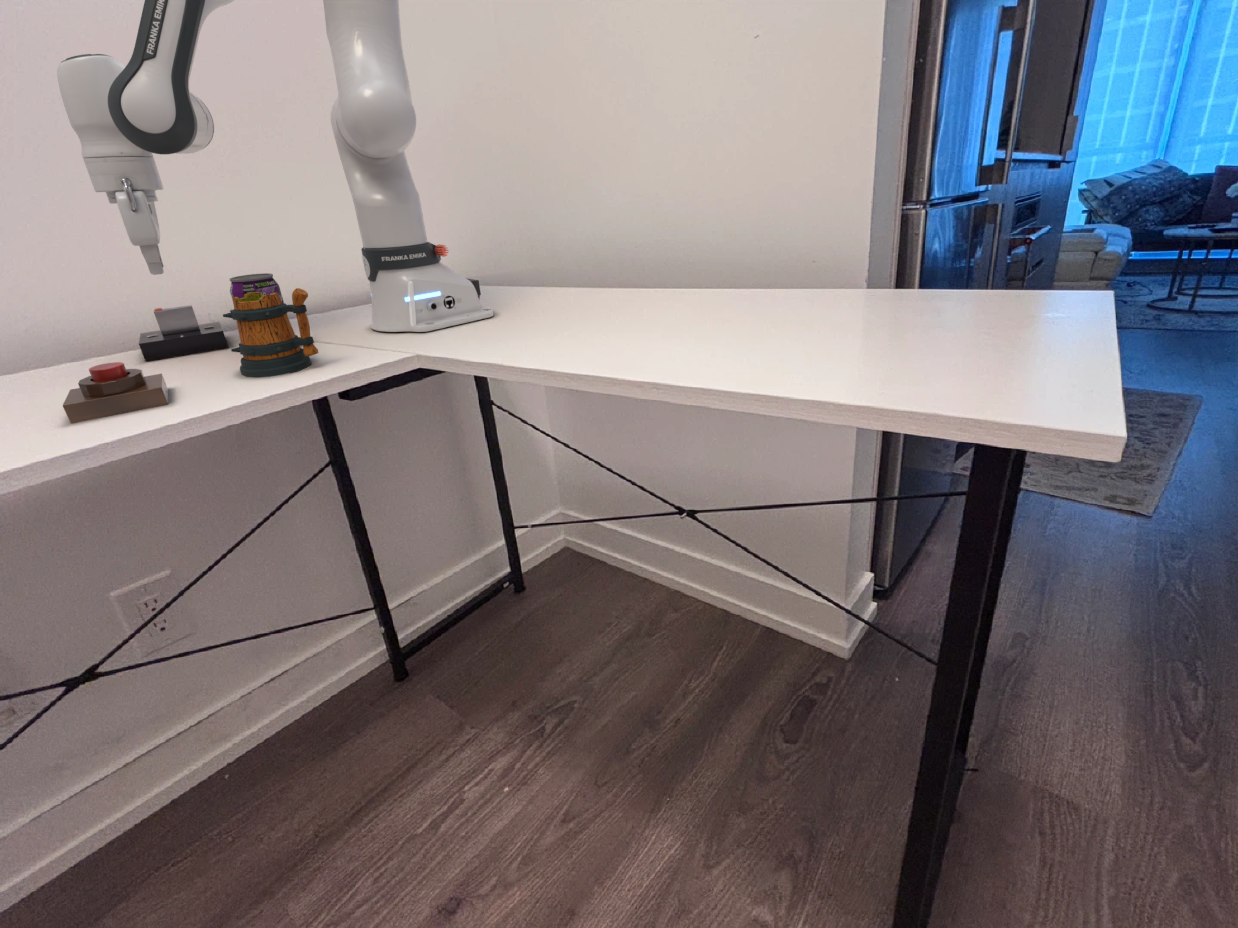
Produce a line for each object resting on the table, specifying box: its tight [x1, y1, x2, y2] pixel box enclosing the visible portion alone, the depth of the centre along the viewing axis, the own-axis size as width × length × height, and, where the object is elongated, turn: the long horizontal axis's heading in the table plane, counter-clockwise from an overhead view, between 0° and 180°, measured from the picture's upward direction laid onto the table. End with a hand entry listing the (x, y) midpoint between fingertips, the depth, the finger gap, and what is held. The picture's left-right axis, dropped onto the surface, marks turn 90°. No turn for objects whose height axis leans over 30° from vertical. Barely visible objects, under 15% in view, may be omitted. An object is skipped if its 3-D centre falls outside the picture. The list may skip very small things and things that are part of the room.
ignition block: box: [62, 368, 169, 424], centre depth 80 cm, size 10×8×4 cm
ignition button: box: [88, 361, 128, 382], centre depth 79 cm, size 4×4×2 cm
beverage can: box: [229, 272, 289, 317], centre depth 101 cm, size 7×7×12 cm
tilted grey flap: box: [153, 304, 200, 335], centre depth 106 cm, size 6×2×4 cm, turn 124°
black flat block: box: [138, 321, 230, 363], centre depth 107 cm, size 12×10×3 cm
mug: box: [222, 287, 319, 379], centre depth 91 cm, size 13×10×12 cm
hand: (158, 271), depth 102 cm, fingers open, 8 cm apart
